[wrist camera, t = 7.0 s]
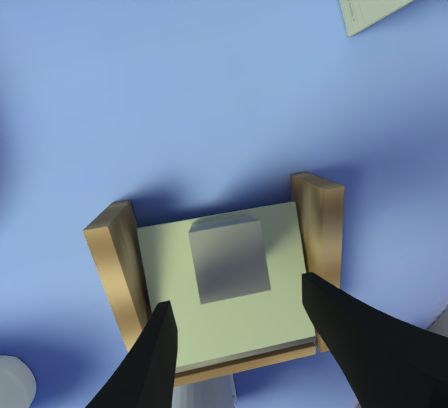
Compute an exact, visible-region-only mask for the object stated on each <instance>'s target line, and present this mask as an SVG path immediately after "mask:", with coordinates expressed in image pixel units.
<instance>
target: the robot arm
mask: <svg viewBox="0 0 448 408" xmlns="http://www.w3.org/2000/svg"><path fill="white" fill-rule="evenodd" d="M302 304H303V306H304V309H305V311H306V313H307V315H308V317H309V319H310V321H311V322H312V324H313V326H314V327H315V329H316V330H317V332H318V333H319V335H320V336H321V338H322V340H323V341H324V343H325V344H326V346H327V347H328V349H329V350H330V352H331V353H332V355H333V356H334V358H335V360H336V361H337V363H338V364H339V366H340V368H341V369H342V371H343V373H344V375H345V376H346V378H347V380H348V382H349V384H350V386H351V388H352V390H353V391H354V393H355V395H356V397H357V399H358V401H359V403H360V405H361V407H362V408H448V337H444V336H442V335H438V334H435V333H432V332H430V331H427V330H424V329H421V328H419V327H416V326H414V325H411V324H409V323H406V322H404V321H401V320H399V319H396V318H394V317H392V316H390V315H388V314H385V313H383V312H381V311H379V310H377V309H375V308H373V307H371V306H369V305H367V304H365V303H363V302H362V301H360V300H358V299H356V298H354V297H352V296H351V295H349V294H347V293H346V292H344V291H342V290H341V289H339V288H337V287H336V286H334V285H333V284H331V283H329V282H328V281H326V280H325V279H323V278H321V277H320V276H318V275H317V274H315V273H313V272H308V273H303V274H302ZM177 352H178V329H177V325H176V321H175V318H174V314H173V310H172V306H171V302H170V300H169V301H164V302H159V303H158V304H157V305H156V307H155V309H154V311H153V313H152V314H151V316H150V318H149V320H148V322H147V323H146V325H145V327H144V329H143V330H142V332H141V334H140V335H139V337H138V339H137V340H136V342H135V343H134V345H133V346H132V348H131V349H130V351H129V352H128V354H127V356H126V357H125V358H124V360H123V361H122V363H121V364H120V365H119V367H118V368H117V370H116V371H115V372H114V374H113V375H112V376H111V377H110V379H109V380H108V381H107V382H106V384H105V385H104V386H103V387H102V389H101V390H100V391H99V392H98V393H97V395H96V396H95V397H94V398H93V399H92V400H91V402H90V403H89V404H88V405H87V406H86V407H85V408H234V404H236V403H237V397H236V391H235V385H234V379H233V374H229V375H225V376H220V377H216V378H212V379H208V380H203V381H199V382H195V383H190V384H186V385H182V386H178V387H174V380H175V371H176V362H177Z"/></svg>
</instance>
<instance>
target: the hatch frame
mask: <svg viewBox="0 0 448 408" xmlns="http://www.w3.org/2000/svg"><path fill="white" fill-rule="evenodd" d="M344 193H345V186H343V185H340V184H338V183H335V182H332V181H330V180H327V179H324V178H322V177H319V176H317V175H314V174H311V173H309V172H301V173H295V174H291V201H292V202H295V203H296V210H297V216H298V223H299V230H300V236H301V243H302V250H303V256H304V263H305V269H306V273H308V272H313V273H315V274H317V275H318V276H320V277H321V278H323V279H325V280H326V281H328V282H329V283H331V284H333V285H334V286H336V287H337V288H339V289H340V275H341V254H342V234H343V214H344ZM137 228H138V226H137V223H136V219H135V215H134V212H133V208H132V205H131V201H130V200H127V201H121V202H114V203H111V204H110V205H109V206H108V207H107V208H106V209H105V210H104V211H103V212H102V213H101V214H100V215H99V216H98V217H97V218H95V219H94V220H93V221H92V222H91V223H90V224H89V225H88V226H87V227H86V228H85V229H84V230H83V233H84V236H85V238H86V241H87V244H88V246H89V249H90V252H91V254H92V257H93V260H94V262H95V265H96V268H97V271H98V273H99V276H100V279H101V281H102V284H103V287H104V289H105V292H106V295H107V297H108V300H109V303H110V305H111V308H112V311H113V313H114V316H115V319H116V322H117V324H118V327H119V330H120V332H121V335H122V338H123V340H124V343H125V346H126V348H127V351H128V352H129V351H130V349H131V348H132V346H133V345H134V343H135V342H136V340H137V339H138V337H139V335H140V334H141V332H142V330H143V329H144V327H145V325H146V323H147V322H148V320H149V318H150V316H151V314H152V311H151V306H150V300H149V295H148V289H147V284H146V278H145V273H144V267H143V262H142V256H141V251H140V245H139V240H138V234H137ZM314 329H315V327H314ZM315 336H316V341H315V343H316V345H317V347H318V348H319V350H320V352H321V353H323V352H327V351H330V350H329V349H328V347H327V346H326V344H325V343H324V341H323V340H322V338H321V336H320V335H319V333H318V332H317V330H316V329H315ZM316 345H315V344H314V342H310V343H306V344H301V345H297V346H292V347H288V348H284V349H279V350H275V351H271V352H266V353H262V354H257V355H253V356H249V357H244V358H240V359H236V360H231V361H227V362H222V363H218V364H214V365H209V366H205V367H201V368H196V369H192V370H188V371H183V372H179V373H175V380H174V387H178V386H182V385H186V384H190V383H195V382H199V381H203V380H208V379H212V378H216V377H220V376H225V375H229V374H233V373H237V372H242V371H246V370H250V369H255V368H259V367H263V366H267V365H272V364H276V363H280V362H284V361H289V360H293V359H297V358H302V357H306V356H310V355H314V354H316Z"/></svg>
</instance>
